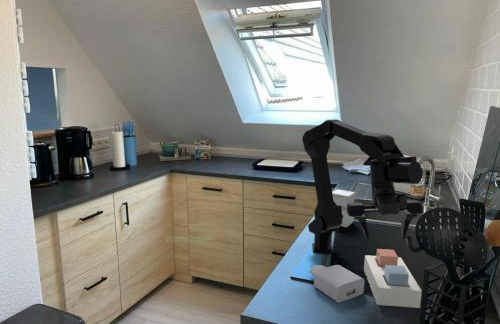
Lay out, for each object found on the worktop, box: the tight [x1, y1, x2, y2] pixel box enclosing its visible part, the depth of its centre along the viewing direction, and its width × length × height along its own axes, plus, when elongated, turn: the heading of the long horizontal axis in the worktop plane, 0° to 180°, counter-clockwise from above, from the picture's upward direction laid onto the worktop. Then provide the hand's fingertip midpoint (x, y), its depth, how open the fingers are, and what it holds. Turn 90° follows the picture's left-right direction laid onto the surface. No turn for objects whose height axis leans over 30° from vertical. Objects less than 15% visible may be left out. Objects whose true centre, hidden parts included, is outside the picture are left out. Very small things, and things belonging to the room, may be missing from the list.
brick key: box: [375, 248, 399, 267], centre depth 105 cm, size 5×5×4 cm
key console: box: [363, 254, 423, 309], centre depth 101 cm, size 18×10×4 cm, turn 173°
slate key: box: [384, 265, 409, 287], centre depth 95 cm, size 5×5×4 cm
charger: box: [309, 264, 365, 303], centre depth 101 cm, size 5×9×15 cm
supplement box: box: [332, 189, 356, 228], centre depth 147 cm, size 7×7×13 cm
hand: (385, 239), depth 102 cm, fingers open, 9 cm apart
